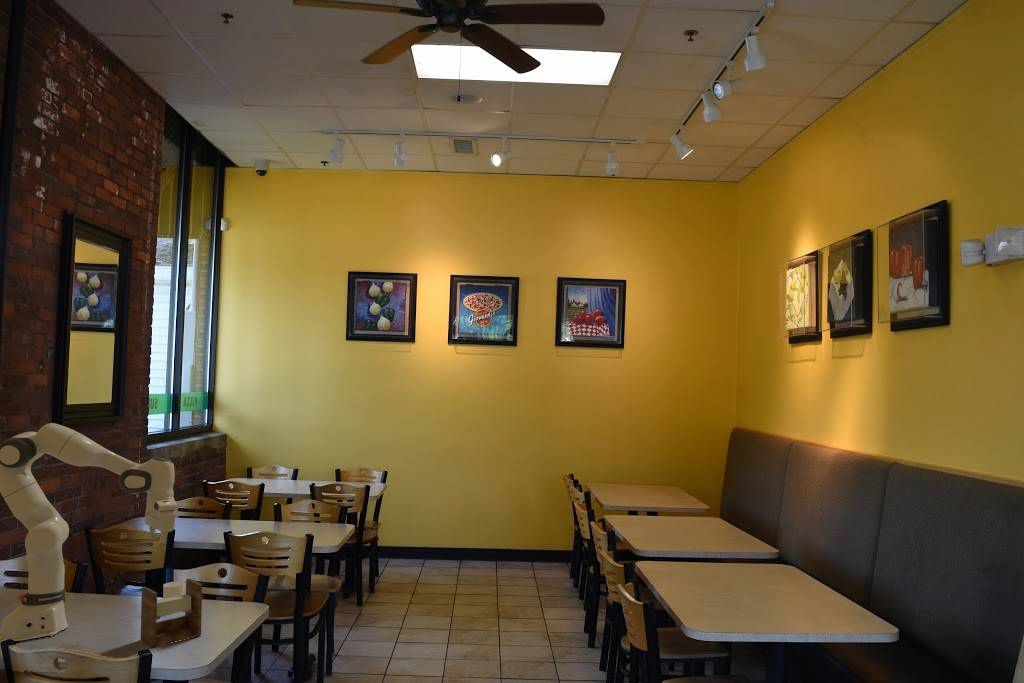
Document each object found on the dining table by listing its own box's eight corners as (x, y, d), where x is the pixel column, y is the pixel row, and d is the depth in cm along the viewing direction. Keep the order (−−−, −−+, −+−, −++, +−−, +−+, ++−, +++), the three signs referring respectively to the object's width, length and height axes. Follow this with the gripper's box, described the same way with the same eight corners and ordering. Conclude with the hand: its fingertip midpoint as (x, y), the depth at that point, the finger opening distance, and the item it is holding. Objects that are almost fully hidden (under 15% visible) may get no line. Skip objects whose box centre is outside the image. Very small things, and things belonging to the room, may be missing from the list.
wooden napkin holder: (152, 648, 253) (153, 593, 254) (140, 640, 261) (141, 587, 261) (201, 636, 264) (202, 584, 265) (188, 628, 272) (189, 578, 273)
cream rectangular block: (155, 617, 257) (155, 603, 257) (151, 614, 260) (151, 601, 260) (191, 609, 266) (191, 596, 266) (186, 607, 268) (186, 594, 269)
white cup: (178, 605, 300) (179, 580, 300) (188, 609, 295) (189, 583, 295) (158, 610, 294) (159, 584, 294) (168, 614, 289) (169, 588, 289)
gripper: (141, 499, 281) (139, 537, 280) (160, 507, 266) (158, 546, 265) (158, 498, 285) (156, 535, 284) (179, 505, 271) (177, 544, 270)
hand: (157, 540), depth 275 cm, fingers open, 8 cm apart
